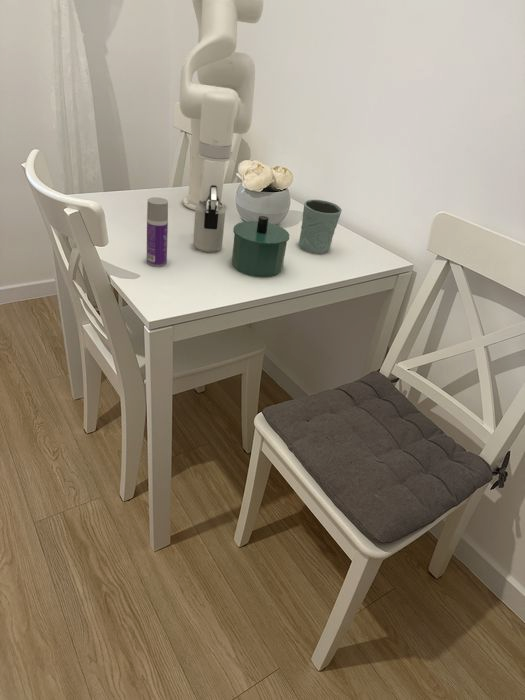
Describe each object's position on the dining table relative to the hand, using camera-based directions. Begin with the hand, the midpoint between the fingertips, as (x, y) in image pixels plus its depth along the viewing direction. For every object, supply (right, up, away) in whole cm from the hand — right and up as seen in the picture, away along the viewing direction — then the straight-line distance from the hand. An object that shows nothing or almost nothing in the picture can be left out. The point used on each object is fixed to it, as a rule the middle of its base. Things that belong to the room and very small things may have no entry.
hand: (209, 221), depth 128 cm
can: (-1, -6, +4) cm, 7 cm away
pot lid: (+13, -4, -6) cm, 15 cm away
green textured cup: (+28, -4, +14) cm, 31 cm away
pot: (+12, -11, -1) cm, 16 cm away
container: (-12, -12, -7) cm, 18 cm away
